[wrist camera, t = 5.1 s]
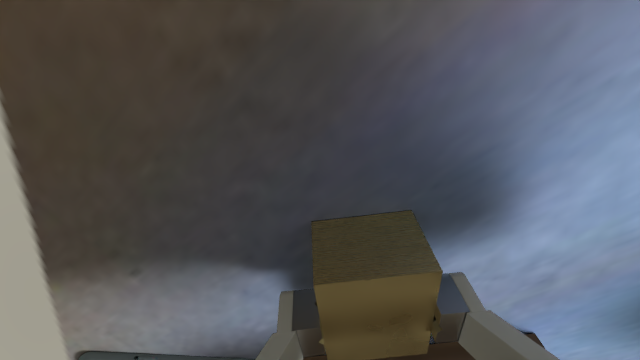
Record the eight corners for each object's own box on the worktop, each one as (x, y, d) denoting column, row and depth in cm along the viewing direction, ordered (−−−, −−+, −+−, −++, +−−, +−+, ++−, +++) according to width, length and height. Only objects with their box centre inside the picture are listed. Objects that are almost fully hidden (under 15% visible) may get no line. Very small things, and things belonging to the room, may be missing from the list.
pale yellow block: (311, 221, 11) (313, 285, 9) (411, 210, 11) (442, 271, 9) (323, 297, 14) (328, 363, 11) (404, 289, 14) (426, 353, 11)
